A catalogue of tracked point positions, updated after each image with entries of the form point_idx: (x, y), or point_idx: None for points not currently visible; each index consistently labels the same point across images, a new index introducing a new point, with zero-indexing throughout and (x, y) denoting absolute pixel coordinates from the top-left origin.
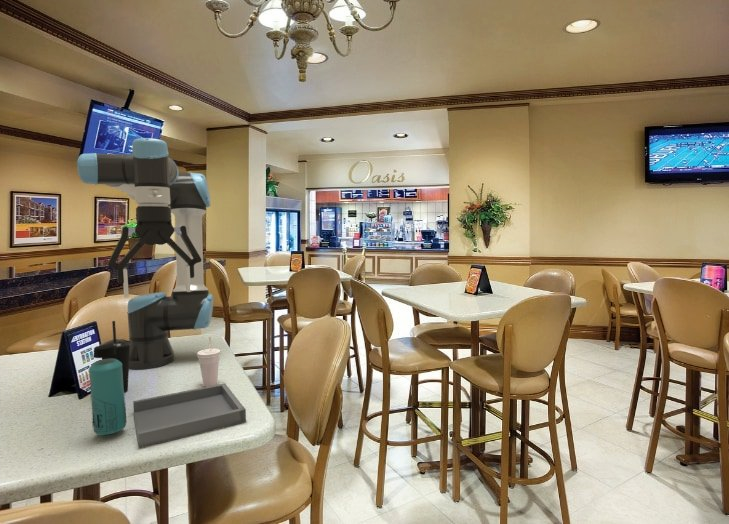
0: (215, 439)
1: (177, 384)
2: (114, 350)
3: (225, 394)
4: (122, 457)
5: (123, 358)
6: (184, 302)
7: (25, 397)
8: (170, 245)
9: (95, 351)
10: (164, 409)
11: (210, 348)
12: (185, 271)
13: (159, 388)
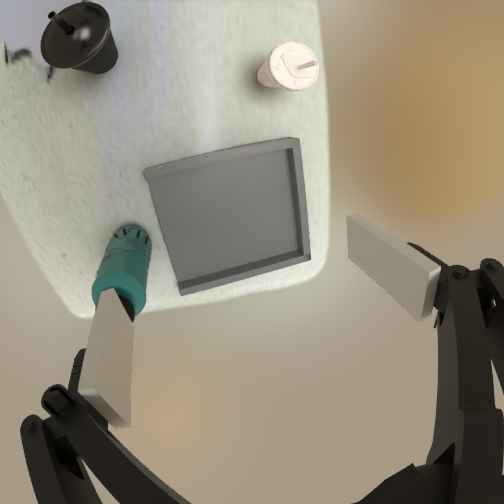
0: (264, 286)
1: (208, 49)
2: (133, 317)
3: (293, 174)
4: (166, 300)
5: (100, 56)
6: None
7: None
8: (433, 449)
9: None
10: (194, 180)
11: (302, 68)
12: (403, 282)
13: (175, 59)
